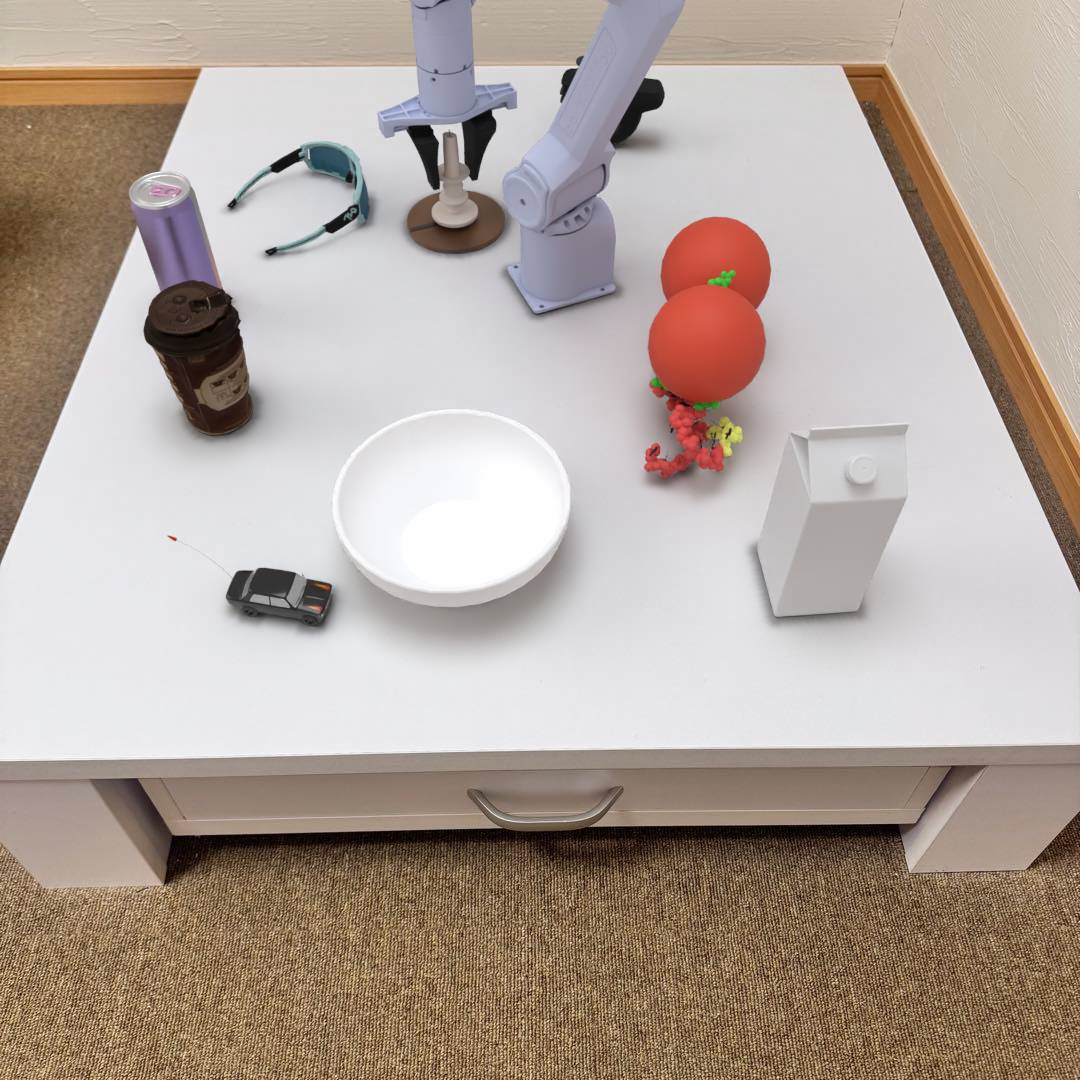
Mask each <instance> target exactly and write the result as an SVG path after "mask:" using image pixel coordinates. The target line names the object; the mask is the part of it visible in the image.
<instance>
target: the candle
mask: <svg viewBox="0 0 1080 1080" xmlns="http://www.w3.org/2000/svg"><path fill="white" fill-rule="evenodd" d="M442 152H443V153H442V154H443V163H441V164H438V170H439V178H440V182H442V188H443V189H442V190H441V191H440V192H441V193H440V195H439V199H440V201H438V202H437V203H436V204H435V205H434V206H433V208H432V217H433V220H434V221H435V222H436V223H438V224H439V225H441V226H444V227H448V228H460V227H464V226H467V225H469V224H471V223H473V222H474V221H475V220H476V218H477V216H478V207H477V205H476V204H475V203H474V202H473V201H471V200H470V199H468V193H467V191H468V190H466V189H464V183H463V182H464V181H465V180H467V179H468V178H470V177H469V175H470V170H469V168H468V167H467V165H465V163H462V162H460V154H459V143H458V137H457V134H456V133H454V132H452V131H451V130H450V129H448V131H445V132H443V133H442Z"/></svg>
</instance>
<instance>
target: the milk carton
mask: <svg viewBox="0 0 1080 1080" xmlns="http://www.w3.org/2000/svg"><path fill="white" fill-rule="evenodd" d="M909 427H910V423H909V421H905V422H889V423H888V422H887V423H871V424H854V425H853V424H852V425H839V426H837V425H835V426H821V427H820V426H818V427H811V428H810V429H809V430H797V431H795V430H794V431H788V435H787V439H786V442H785V445H784V450H783V453H782V456H781V461H780V463H779V468H778V470H777V475H776V478H775V482H774V486H773V489H772V493H771V496H770V500H769V504H768V508H767V510H766V514H765V518H764V521H763V524H762V529H761V532H760V536H759V539H758V544H757V546H756V551H757V555H758V560H759V563H760V567H761V570H762V574H763V578H764V582H765V585H766V591H767V594H768V598H769V601H770V605H771V609H772V612H773V616H774V617H778V618H779V617H781V618H782V617H794V616H796V617H797V616H808V615H823V614H837V613H852V612H857V611H858V610H859V609H860V606H861V604H862V602H863V599H864V597H865V595H866V593H867V590H868V589H869V586H870V583H871V581H872V579H873V577H874V575H875V572H876V570H877V569H878V565H879V564H880V561H881V558H882V556H883V554H884V552H885V549H886V547H887V546H888V545H887V544H888V543H889V540H890V538H891V536H892V533H893V531H894V529H895V527H896V524H897V523H898V519H899V517H900V515H901V513H902V511H903V509H904V506H905V504H906V501H907V498H908V495H909V487H908V464H907V460H908V459H907V439H906V437H907V436H906V434H907V432H908V429H909Z"/></svg>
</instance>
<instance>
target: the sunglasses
mask: <svg viewBox="0 0 1080 1080" xmlns="http://www.w3.org/2000/svg"><path fill="white" fill-rule="evenodd" d="M360 161H361V158H360V157H359V156H358V155H357V153H356V152H355V151H354V150H353V148H350V147H348V145H343V144H341V143H337V142H334V141H328V140H317V141H310V142H305V143H302V144H300V145H299V148H296V149H295V150H293V151H291V152H289V153H288V154H286V155H284V156H282V157H280V158H279V159H277V160H276V161H274V162H273V163H271V164H270V165H268V166H266V167H264V168H262V169H260V170H259V171H258V172H257V173H256V174H255V175H254V176H252V178H250V179H249V180H248V181H246V183H244V185H243V186H242V187H241V188H240V189H239V190H238V192H237V193H236V195H235V196H234V198H233V199H232V200H231V201H230V202H229V203H228V204H227V206H226V207H227V208H228V209H229V208H230V209H233V208H234V207H235V206H237V204H238V203H239V202H240V200H241V199H242V197H244V195H245V194H246V193H247V192H248V191H249V190H250V189H251V188H252V187H253V186H254V185H255V184H257V183H258V182H259V181H261V180H262V179H263V178H265V177H267V176H269V175H270V174H272V173H273V174H279V173H281V172H282V171H285V170H286V169H288V168H289V167H291V166H293V165H294V164H297V163H300V162H304V163H305V164H306V167H307V168H308V169H309V170H310V171H312V172H313V173H320V174H323V175H328V176H331V177H334V178H337V179H339V180H342V181H345V182H346V183H349V184H350V183H351V184H352V183H353V187H354V193H353V199H352V201H353V202H352V204H351V205H349V206H348V207H347V209H345V211H343V212H341V213H340V214H339V215H338V216H336V217H335V218H333V219H332V220H330V221H328V222H327V223H325V224H323V225H321V227H319V228H317V230H315V231H314V232H312V233H310V234H308V235H306V236H303V237H301V238H299V239H297V240H295V241H292V242H289V243H285V244H282V245H278V246H277V245H276V246H274V247H271V248H268V249H266V250H264V253H266V254H267V255H269V256H272V255H274V254H277V253H281V252H285V251H289V250H293V249H296V248H298V247H302V246H304V245H307V244H308V243H311V242H313V241H314V240H317V239H318V238H320V237H321V236H323V235H324V234H325V233H328V234H335V233H336V232H338V231H340V230H342V229H343V228H344V227H347V225H349V224H351V223H352V222H354V221H355V220H356V219H357V222H358V223H366V222H367V220H368V217H369V212H370V198H369V192H368V186H367V183H366V181H365V178H364V174H363V168H362V166H361V162H360Z"/></svg>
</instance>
